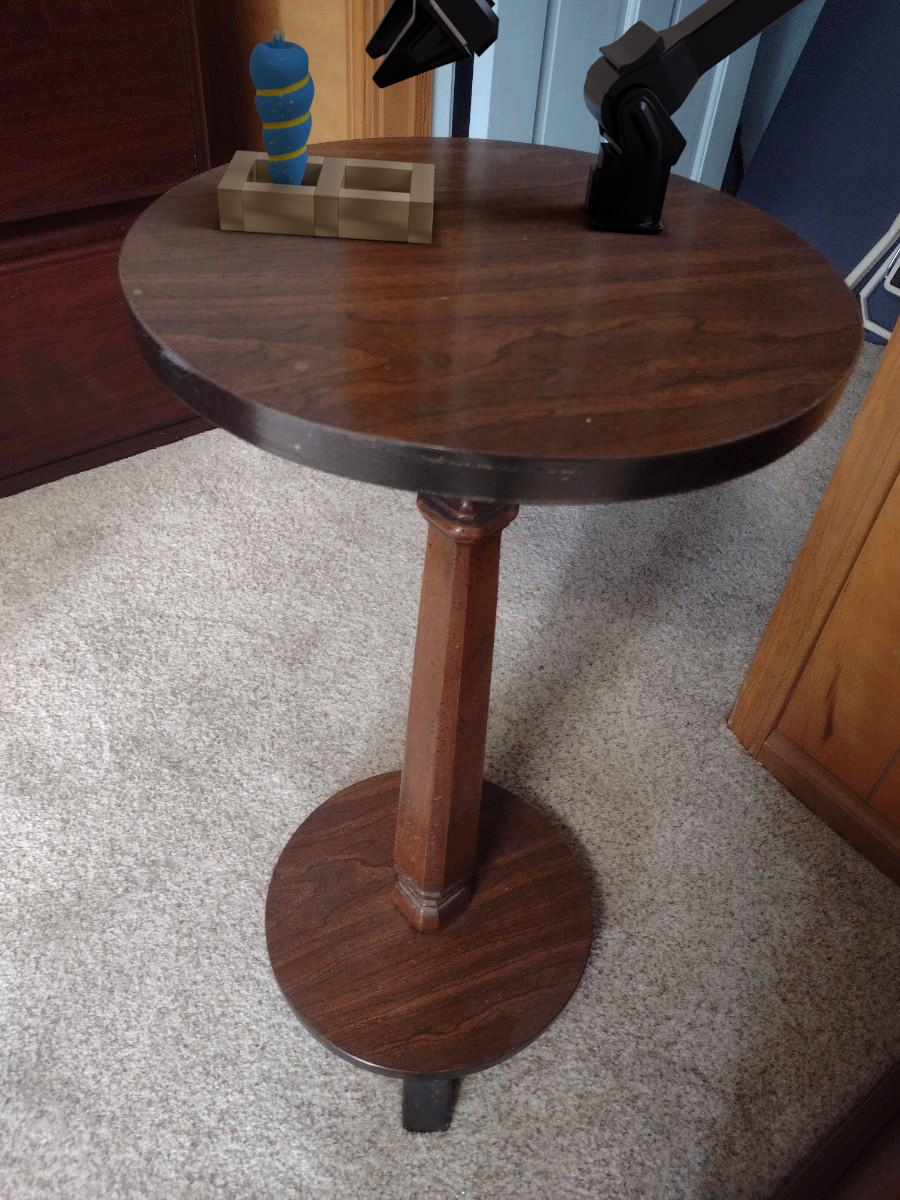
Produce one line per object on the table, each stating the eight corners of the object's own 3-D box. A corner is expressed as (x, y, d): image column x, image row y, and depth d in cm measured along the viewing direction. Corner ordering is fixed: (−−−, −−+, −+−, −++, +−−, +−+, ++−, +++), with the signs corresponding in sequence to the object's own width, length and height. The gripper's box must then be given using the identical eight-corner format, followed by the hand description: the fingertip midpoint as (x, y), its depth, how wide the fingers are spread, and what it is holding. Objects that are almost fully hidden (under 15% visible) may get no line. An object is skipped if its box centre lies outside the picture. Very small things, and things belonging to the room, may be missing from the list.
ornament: (299, 228, 84) (292, 32, 74) (247, 216, 85) (233, 22, 75) (326, 209, 88) (323, 20, 78) (276, 198, 89) (267, 11, 79)
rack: (432, 203, 91) (434, 164, 89) (430, 244, 83) (433, 202, 81) (239, 189, 90) (236, 150, 88) (220, 230, 83) (216, 187, 80)
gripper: (434, -196, 76) (298, -37, 82) (466, -180, 62) (300, 9, 68) (521, -70, 82) (389, 69, 88) (568, -30, 69) (407, 132, 74)
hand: (372, 68), depth 80 cm, fingers open, 9 cm apart
